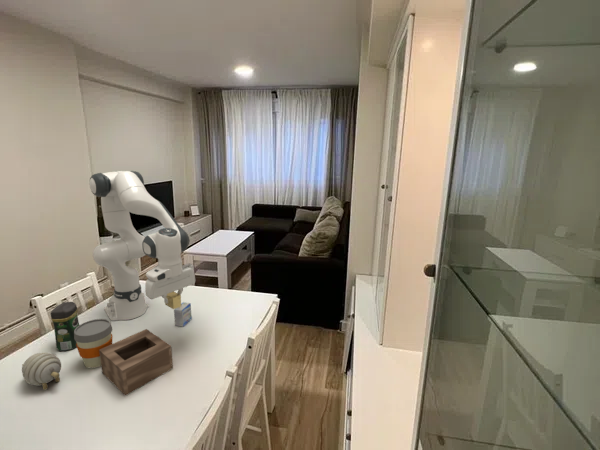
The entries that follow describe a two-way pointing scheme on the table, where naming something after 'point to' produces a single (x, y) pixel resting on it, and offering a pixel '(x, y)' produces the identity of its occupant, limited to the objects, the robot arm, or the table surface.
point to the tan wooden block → (174, 300)
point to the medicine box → (182, 314)
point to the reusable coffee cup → (93, 340)
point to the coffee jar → (65, 325)
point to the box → (136, 360)
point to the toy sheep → (41, 369)
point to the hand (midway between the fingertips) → (172, 300)
